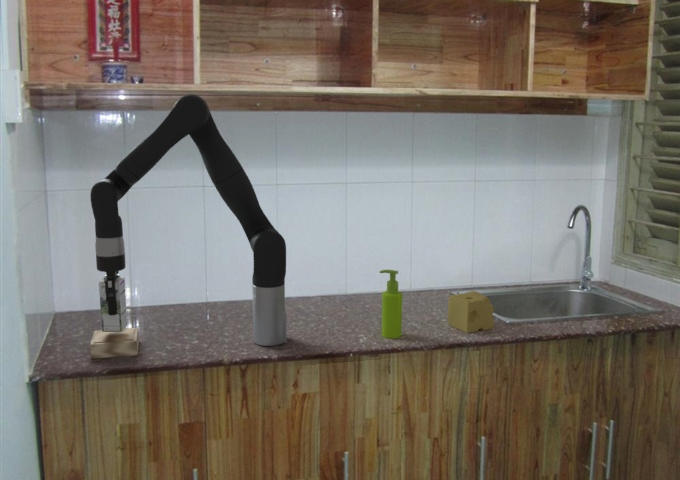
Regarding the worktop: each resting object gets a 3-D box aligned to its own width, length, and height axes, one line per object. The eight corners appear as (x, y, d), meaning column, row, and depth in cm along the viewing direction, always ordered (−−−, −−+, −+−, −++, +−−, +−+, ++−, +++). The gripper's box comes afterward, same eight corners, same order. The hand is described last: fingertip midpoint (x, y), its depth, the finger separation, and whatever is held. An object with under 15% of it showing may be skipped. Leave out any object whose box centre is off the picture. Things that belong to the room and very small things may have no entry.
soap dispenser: (382, 330, 206) (383, 267, 203) (403, 333, 204) (405, 269, 200) (375, 336, 201) (376, 271, 197) (397, 339, 198) (399, 273, 195)
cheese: (494, 329, 209) (495, 298, 207) (466, 334, 204) (467, 302, 202) (473, 320, 218) (474, 290, 216) (445, 324, 213) (446, 294, 211)
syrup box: (128, 325, 191) (125, 276, 188) (122, 332, 185) (119, 281, 182) (107, 326, 191) (104, 276, 188) (101, 332, 185) (97, 281, 182)
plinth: (138, 340, 196) (138, 326, 195) (137, 355, 185) (136, 340, 184) (95, 343, 193) (94, 329, 193) (91, 358, 182) (89, 343, 181)
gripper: (123, 257, 178) (126, 317, 181) (126, 246, 192) (129, 303, 195) (93, 258, 176) (97, 319, 179) (98, 248, 190) (102, 305, 193)
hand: (113, 311), depth 187 cm, fingers closed on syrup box, 6 cm apart
